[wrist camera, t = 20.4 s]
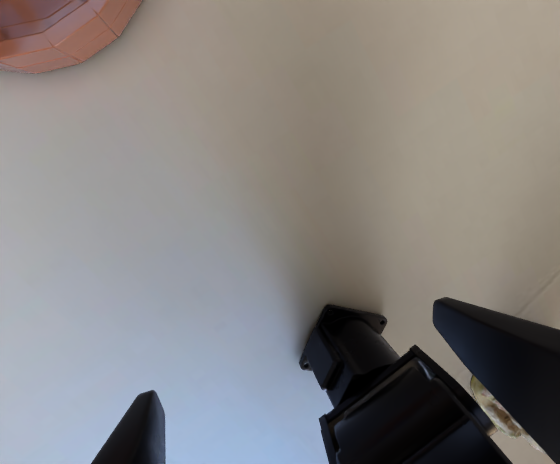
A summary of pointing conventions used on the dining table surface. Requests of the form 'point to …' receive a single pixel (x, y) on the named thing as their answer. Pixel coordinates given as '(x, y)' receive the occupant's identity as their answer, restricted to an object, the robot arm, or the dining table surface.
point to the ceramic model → (499, 414)
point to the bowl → (58, 31)
